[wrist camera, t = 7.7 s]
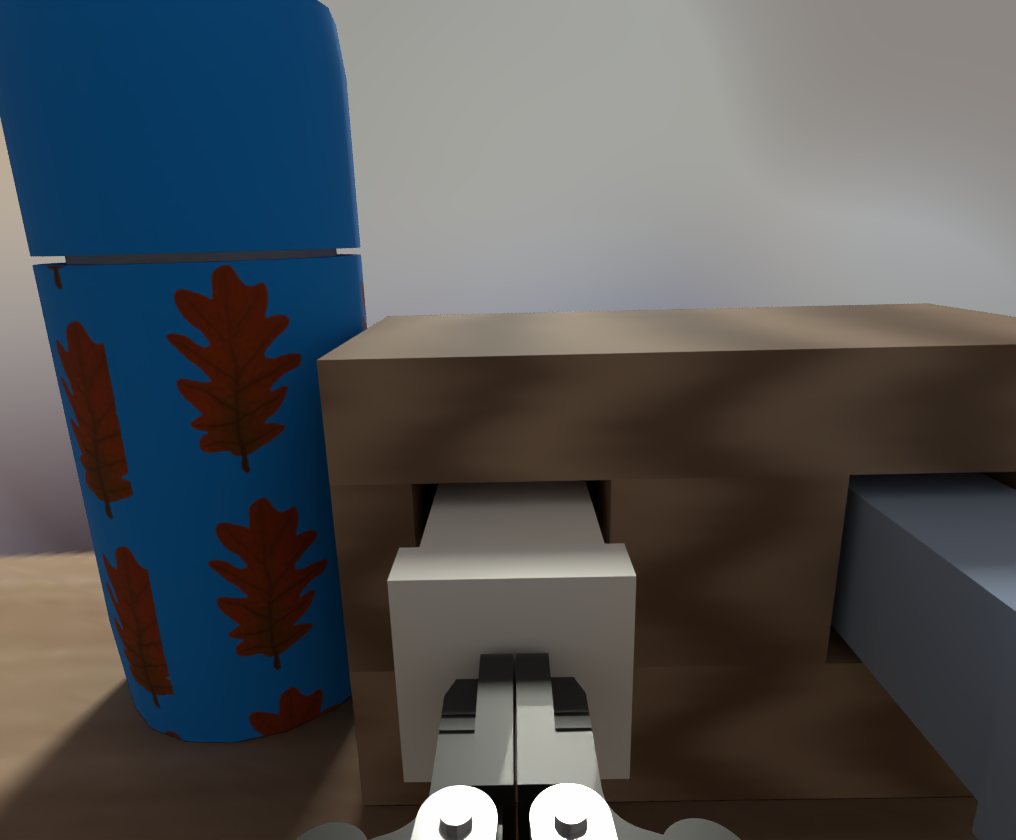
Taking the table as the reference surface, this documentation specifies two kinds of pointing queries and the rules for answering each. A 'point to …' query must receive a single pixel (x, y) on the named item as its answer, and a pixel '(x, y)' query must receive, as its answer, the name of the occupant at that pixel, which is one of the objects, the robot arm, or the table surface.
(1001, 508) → the key blue
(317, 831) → the robot arm
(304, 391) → the thermos
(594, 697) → the key white
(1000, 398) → the housing
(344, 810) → the table surface
